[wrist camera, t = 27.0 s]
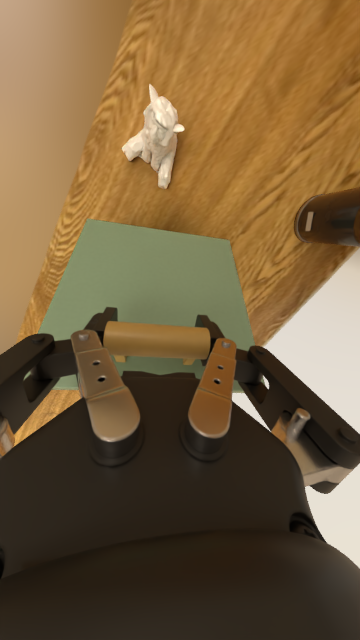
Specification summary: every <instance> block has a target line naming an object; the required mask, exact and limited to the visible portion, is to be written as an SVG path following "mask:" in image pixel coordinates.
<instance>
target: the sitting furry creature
mask: <svg viewBox="0 0 360 640" xmlns="http://www.w3.org/2000/svg"><path fill="white" fill-rule="evenodd" d="M149 91H150V98H151V103H150V105H149V106H148V107H146V109H145V110H144V113H143V114H144V116H145V124H144V128H143V129H142V130H141V131H140V132H139V133H138V134H137V135H136V136H134V137H133V138H130V139H129V141H128V142H127V143H126V144H125V145H124V146H123V147H122V148H121V149H122V150H123V152H124V154H125V155H126V157H127V158H128V160H129V161H131V160H133V159H134V158H135V157H137V156H139V157H140V158H142V159H143V160H144V161H145V162H146V163H149V162H151V167H152V168H153V169H154V170H155V171H157V170H159V172H158V171H157V172H158V187H160V188H163V189H167V187H168V184H169V183H170V178H171V170H172V166H173V162H174V156H175V152H176V147H177V144H176V143H177V142H178V140H177V133H179V132H182V131H184V130H185V129H184V127H183V126H182V125H181V124H178V115H177V110H176V109H175V108H174V107H173V106H172V104H171V103H170V102H169V100H167V99H166V98H165V97H164V96H160V97H158V94H157V92H156V90H155V88H154V87H153V86H152V85H151V84H149ZM142 151H143V152H142ZM151 154H152V157H151ZM160 164H161V167H160ZM159 168H160V169H159Z"/></svg>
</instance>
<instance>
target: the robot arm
mask: <svg viewBox="0 0 360 640" xmlns="http://www.w3.org/2000/svg"><path fill="white" fill-rule="evenodd" d="M294 230H295V234H296V236H297V237H298V238H299V239H300V240H301V241H303V242H308V243H324V244H336V245H347V246H358V247H360V187H359V188H354V189H349V190H344V191H339V192H334V193H329V194H321V195H317V196H314V197H312V198H310V199H309V200H307V201H306V202H305V203H304V204H303V205H302V207H301V208H300V209H299V211H298V213H297V215H296V218H295V223H294ZM108 321H118V309H117V308H114V307H106V308H105V310H104V312H103V313H97V314H95V315H93V317H92V318H91V320H90V321H89V323H88V324H87V325H86V326H85V328H84V329H83V330H79V331H76V332H74V333H73V334H72V335H71V339H67V340H58V341H54V337H53V335H51V334H47V333H40V334H34V335H31V336H28V337H26V338H25V339H23V340H22V341H20V342H19V343H17V344H16V345H14V346H13V347H11V348H10V349H8V350H7V351H6V352H4V353H3V354H1V355H0V640H360V569H359V568H358V567H357V566H356V565H355V564H354V563H353V562H352V561H351V560H350V559H349V558H348V557H347V556H345V555H344V554H343V553H341V552H340V551H339V550H337V549H336V548H334V547H332V546H331V545H329V544H327V543H326V541H325V540H324V538H323V537H322V535H321V533H320V532H319V530H318V528H317V526H316V524H315V521H314V519H313V516H312V513H311V511H310V507H309V504H308V501H307V497H306V493H305V487H306V486H311V487H312V488H313V489H315V490H316V491H318V492H320V493H324V494H328V493H330V492H331V491H332V490H333V489H334V488H335V487H336V486H337V485H338V484H339V483H340V482H341V481H342V480H343V479H344V478H345V477H346V476H347V475H348V474H349V473H350V472H351V471H352V470H353V469H354V468H355V467H356V466H357V465H358V464H359V463H360V434H359V433H358V432H357V431H355V430H354V429H353V428H352V427H351V426H350V425H349V424H348V423H347V422H346V421H345V420H343V419H342V418H341V417H340V416H339V415H338V414H337V413H336V412H335V411H334V410H332V409H331V408H330V407H329V406H328V405H327V404H326V403H325V402H324V401H323V400H322V399H321V398H319V397H318V396H317V395H316V394H315V393H314V392H313V391H312V390H311V389H310V388H309V387H307V386H306V385H305V384H304V383H303V382H302V381H301V380H300V379H299V378H298V377H297V376H295V375H294V374H293V373H292V372H291V371H290V370H289V369H288V368H287V367H286V366H285V365H284V364H282V363H281V362H280V361H279V360H278V359H277V358H276V357H275V356H274V355H272V353H270V352H269V351H268V350H267V349H265V348H263V347H260V346H250V348H249V350H248V351H246V350H241V349H238V348H237V345H236V343H235V342H233V341H232V340H230V339H227V338H225V336H224V335H223V333H222V332H221V330H220V329H219V327H218V325H217V324H216V323H214V322H212V321H210V319H209V318H208V316H207V315H197V318H196V323H195V327H201V328H207V329H208V330H209V333H210V351H209V355H208V357H207V359H200V360H201V363H202V366H206V367H205V369H204V372H203V375H202V377H201V379H198V378H196V376H195V373H189V372H176V373H170V374H164V375H157V374H153V373H148V372H143V371H123V374H122V376H120V374H119V372H118V370H117V368H116V366H115V364H114V362H113V359H112V357H111V355H110V353H109V351H108V349H107V347H103V338H104V331H105V327H106V324H107V322H108ZM29 371H30V373H31V374H30V375H29V376H28V377H27V378H26V379H25V380H24V377H25V376H26V374H27V373H28V372H29ZM75 374H76V379H77V384H78V389H79V394H80V400H78V401H77V402H75V403H74V404H73V405H71V406H70V407H69V408H67V409H66V410H64V411H63V412H62V413H60V414H59V415H57V416H56V417H55V418H53V419H52V420H50V421H49V422H48V423H46V424H45V425H44V426H42V427H41V428H39V429H38V430H37V431H35V432H34V433H32V434H31V435H30V436H28V437H27V438H25V439H24V440H23V441H21V442H20V443H19V444H17V445H16V446H14V443H15V438H14V434H15V433H16V432H17V431H18V430H19V428H20V427H21V426H22V425H23V423H24V422H25V421H26V420H27V419H28V417H29V416H30V415H31V414H32V413H33V411H34V410H35V409H36V408H37V407H38V405H39V404H40V403H41V402H42V401H43V399H44V398H45V397H46V396H47V394H48V393H49V392H50V391H51V390H52V388H53V387H54V386H55V385H56V384H57V382H58V381H59V380H60V378H61V377H64V376H70V375H75ZM263 375H264V377H265V378H266V379H267V380H268V382H269V390H268V389H267V387H266V386H265V385H264V384H263V383H262V381H261V380H262V377H263ZM234 380H236V381H238V384H239V385H240V387H241V388H242V390H243V391H244V392H245V394H246V395H247V396H248V398H249V400H250V401H251V403H252V404H253V406H254V407H255V409H256V410H257V411H258V413H259V415H260V416H261V417H262V419H263V420H264V422H265V423H266V425H267V426H268V428H269V429H270V431H271V432H270V431H269V430H267V429H266V428H265V427H264V426H263V425H261V424H260V423H259V422H258V421H256V420H255V419H254V418H253V417H251V416H250V415H249V414H247V413H246V412H245V411H244V410H243V409H241V408H240V407H239V406H238V405H236V404H235V403H234V402H233V401H232V391H233V384H234ZM13 446H14V447H13Z"/></svg>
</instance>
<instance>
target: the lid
mask: <svg viewBox="0 0 360 640" xmlns="http://www.w3.org/2000/svg"><path fill="white" fill-rule="evenodd" d="M106 307H114V308H117V309H118V321H108V322H107V324H106V327H105V331H104V338H103V347H107V349H108V351H109V353H110V355H111V357H112V359H113V362H114V364H115V366H116V368H117V370H118V372H119V374H120V376H122V374H123V371H143V372H148V373H153V374H157V375H164V374H170V373H176V372H189V373H195V376H196V378H198V379H201V377H202V375H203V372H204V369H205V367H206V366H202V363H201V360H200V359H207V357H208V355H209V351H210V333H209V330H208V329H207V328H201V327H195V323H196V318H197V315H207V316H208V318H209V319H210V321H212V322H214V323H216V324H217V325H218V327H219V329H220V330H221V332H222V333H223V335H224V336H225V338H227V339H230V340H232V341H233V342H235V343H236V345H237V348H238V349H241V350H246V351H248V350H249V348H250V346H255V342H254V338H253V334H252V330H251V326H250V322H249V318H248V314H247V310H246V306H245V302H244V298H243V294H242V290H241V286H240V282H239V278H238V274H237V269H236V265H235V261H234V257H233V253H232V249H231V245H230V241H229V240H225V239H219V238H212V237H206V236H199V235H192V234H186V233H179V232H173V231H166V230H159V229H153V228H146V227H140V226H133V225H126V224H120V223H113V222H107V221H100V220H93V219H87V221H86V223H85V225H84V228H83V230H82V232H81V235H80V237H79V239H78V241H77V244H76V246H75V248H74V251H73V253H72V255H71V258H70V260H69V262H68V264H67V267H66V269H65V271H64V274H63V276H62V278H61V281H60V283H59V285H58V288H57V290H56V292H55V294H54V297H53V299H52V301H51V304H50V306H49V308H48V311H47V313H46V315H45V318H44V320H43V322H42V324H41V327H40V329H39V331H38V334H40V333H47V334H51V335H53V337H54V341H58V340H67V339H71V335H72V334H73V333H74V332H76V331H79V330H83V329H84V328H85V326H86V325H87V324H88V323H89V321H90V320H91V318H92V317H93V315H95V314H97V313H103V312H104V310H105V308H106ZM30 374H31V373H30V371H29V372H28V373H27V374H26V376H25V377H24V380H25V379H26V378H27V377H28V376H29V375H30ZM261 381H262V383H263V384H264V385H265V383H264V379H263V377H262V380H261ZM52 390H79V389H78V384H77V379H76V374H75V375H70V376H64V377H61V378H60V380H59V381H58V382H57V384H56V385H55V386H54V387H53V388H52ZM232 393H245V392H244V391H243V390H242V388H241V387H240V385H239V384H238V381H236V380H234V384H233V391H232Z"/></svg>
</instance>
